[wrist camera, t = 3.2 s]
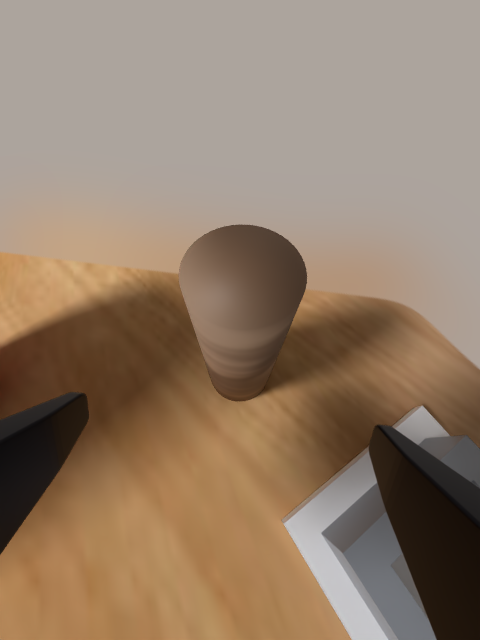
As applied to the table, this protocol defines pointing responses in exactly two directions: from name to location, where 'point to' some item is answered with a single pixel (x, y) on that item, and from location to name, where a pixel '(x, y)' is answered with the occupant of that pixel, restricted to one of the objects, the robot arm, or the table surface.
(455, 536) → the robot arm
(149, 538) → the table surface
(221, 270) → the walnut peg
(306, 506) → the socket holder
